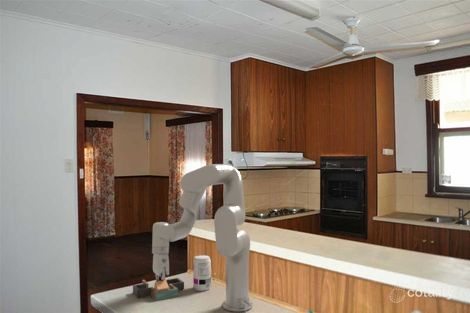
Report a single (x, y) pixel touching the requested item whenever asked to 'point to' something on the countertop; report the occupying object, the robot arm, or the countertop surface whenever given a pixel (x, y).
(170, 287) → the trap channel
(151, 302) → the countertop surface
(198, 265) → the supplement can
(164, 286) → the block
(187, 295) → the countertop surface
